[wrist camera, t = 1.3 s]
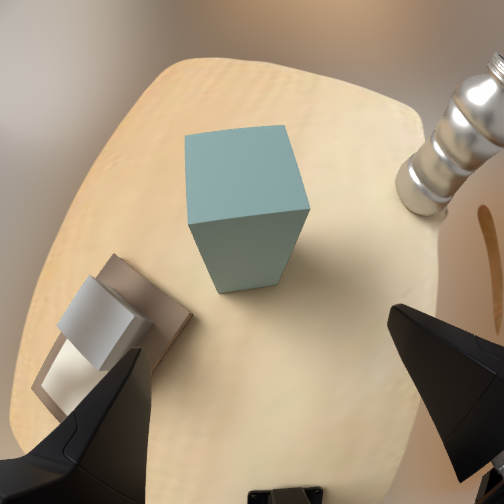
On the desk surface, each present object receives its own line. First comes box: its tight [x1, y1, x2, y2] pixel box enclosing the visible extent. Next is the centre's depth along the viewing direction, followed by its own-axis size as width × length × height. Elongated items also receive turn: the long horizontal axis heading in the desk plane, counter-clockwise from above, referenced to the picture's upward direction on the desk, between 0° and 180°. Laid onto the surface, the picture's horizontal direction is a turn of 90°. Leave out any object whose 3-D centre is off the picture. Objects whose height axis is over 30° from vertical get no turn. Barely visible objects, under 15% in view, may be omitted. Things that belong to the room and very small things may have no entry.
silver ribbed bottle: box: [395, 52, 504, 216], centre depth 18 cm, size 6×7×20 cm
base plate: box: [31, 254, 193, 423], centre depth 18 cm, size 9×17×5 cm, turn 147°
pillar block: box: [185, 125, 310, 293], centre depth 18 cm, size 5×5×13 cm
